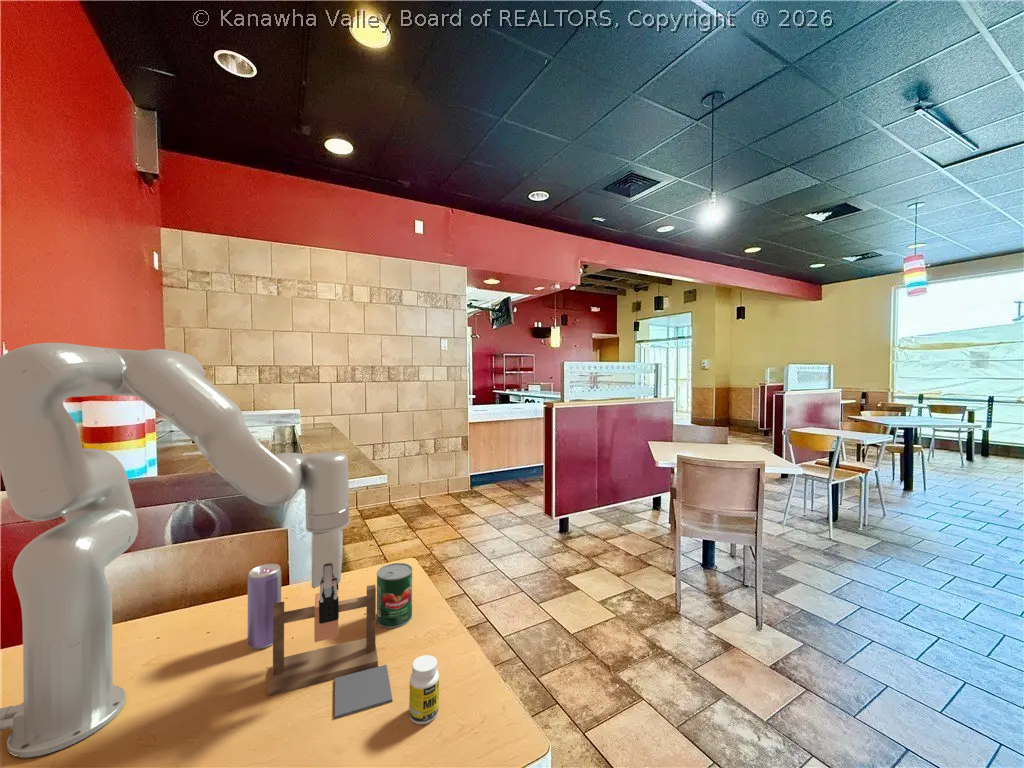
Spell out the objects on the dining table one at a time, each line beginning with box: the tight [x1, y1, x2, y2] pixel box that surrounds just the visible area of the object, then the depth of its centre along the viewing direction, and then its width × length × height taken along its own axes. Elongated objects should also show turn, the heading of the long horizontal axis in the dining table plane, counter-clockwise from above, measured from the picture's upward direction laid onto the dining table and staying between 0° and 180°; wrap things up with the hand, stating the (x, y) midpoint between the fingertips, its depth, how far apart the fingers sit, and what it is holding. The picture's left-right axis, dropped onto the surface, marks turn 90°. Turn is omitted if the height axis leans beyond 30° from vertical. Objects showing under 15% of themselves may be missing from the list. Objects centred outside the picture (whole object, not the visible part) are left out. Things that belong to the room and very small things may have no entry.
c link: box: [313, 589, 339, 643], centre depth 77 cm, size 4×5×6 cm
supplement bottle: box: [408, 654, 440, 725], centre depth 66 cm, size 5×5×8 cm
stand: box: [268, 584, 379, 696], centre depth 77 cm, size 18×8×14 cm, turn 114°
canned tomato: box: [376, 562, 413, 629], centre depth 93 cm, size 8×8×11 cm
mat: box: [334, 664, 393, 719], centre depth 71 cm, size 9×9×1 cm
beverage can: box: [247, 563, 282, 650], centre depth 84 cm, size 6×6×15 cm
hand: (329, 606), depth 77 cm, fingers open, 9 cm apart
